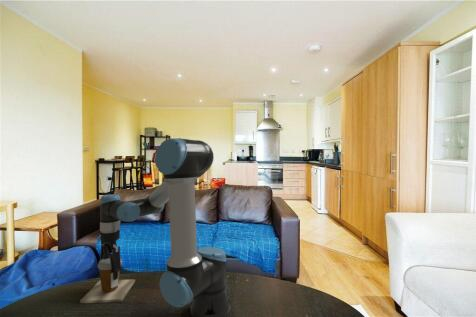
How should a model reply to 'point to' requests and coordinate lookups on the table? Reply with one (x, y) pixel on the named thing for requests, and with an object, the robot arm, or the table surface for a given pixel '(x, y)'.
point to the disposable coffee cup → (106, 275)
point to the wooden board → (108, 293)
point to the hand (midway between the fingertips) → (109, 282)
